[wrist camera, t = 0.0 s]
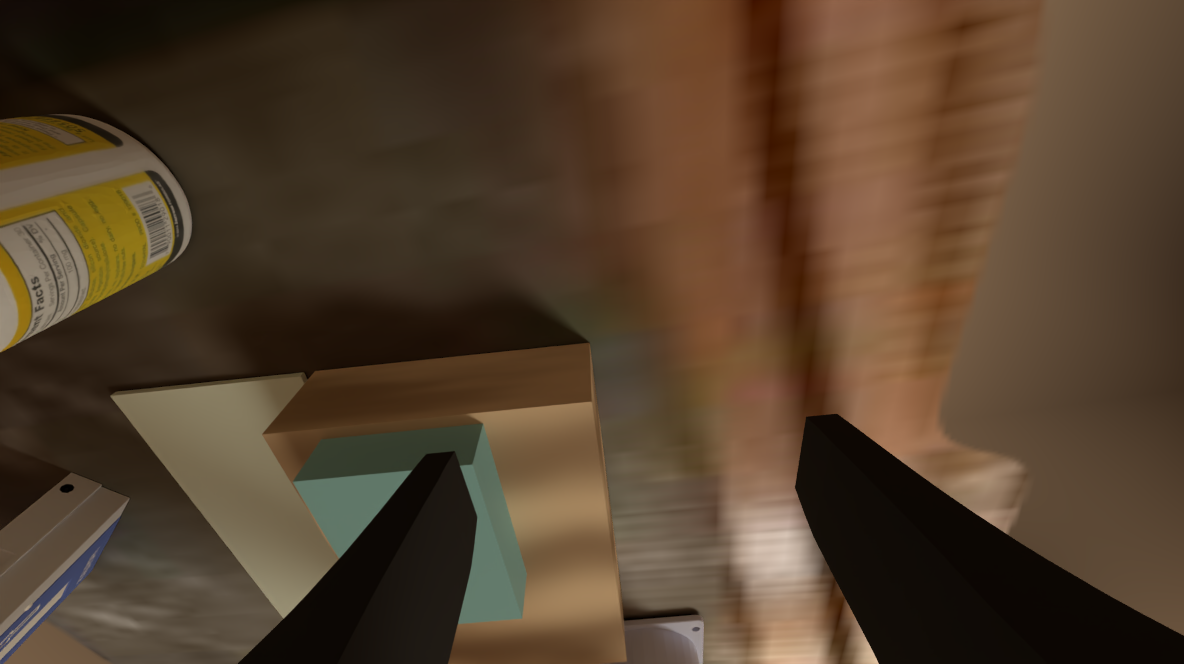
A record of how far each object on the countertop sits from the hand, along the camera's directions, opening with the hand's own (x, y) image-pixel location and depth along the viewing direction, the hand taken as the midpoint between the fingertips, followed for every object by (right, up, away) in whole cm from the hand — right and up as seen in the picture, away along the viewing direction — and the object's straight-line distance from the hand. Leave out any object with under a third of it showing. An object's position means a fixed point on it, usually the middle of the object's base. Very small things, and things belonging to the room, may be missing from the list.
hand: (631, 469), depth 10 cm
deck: (-6, -6, +15) cm, 17 cm away
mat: (-17, -7, +15) cm, 24 cm away
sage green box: (-7, -5, +10) cm, 13 cm away
